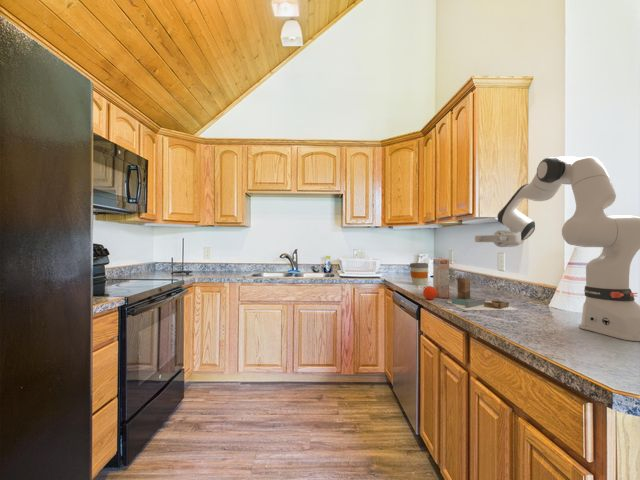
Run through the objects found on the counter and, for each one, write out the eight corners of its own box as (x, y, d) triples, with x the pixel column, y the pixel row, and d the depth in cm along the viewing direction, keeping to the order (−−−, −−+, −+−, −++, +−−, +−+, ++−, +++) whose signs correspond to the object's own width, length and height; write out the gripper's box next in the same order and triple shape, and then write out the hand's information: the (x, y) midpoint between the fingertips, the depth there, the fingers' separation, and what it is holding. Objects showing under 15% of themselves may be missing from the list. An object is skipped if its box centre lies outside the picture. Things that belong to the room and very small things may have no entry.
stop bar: (470, 303, 150) (470, 278, 150) (465, 304, 148) (465, 278, 148) (462, 302, 153) (462, 277, 153) (457, 303, 151) (457, 278, 151)
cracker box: (449, 298, 171) (449, 259, 171) (438, 298, 172) (437, 259, 172) (443, 294, 184) (443, 258, 185) (433, 293, 185) (432, 258, 186)
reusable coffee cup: (407, 284, 227) (407, 263, 227) (414, 282, 237) (414, 262, 237) (424, 286, 219) (424, 264, 219) (431, 284, 229) (430, 263, 229)
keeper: (508, 306, 142) (508, 302, 142) (500, 308, 138) (500, 304, 138) (492, 304, 148) (492, 300, 148) (484, 306, 144) (484, 301, 144)
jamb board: (518, 311, 136) (518, 303, 136) (464, 312, 137) (464, 304, 137) (493, 303, 156) (492, 296, 156) (446, 303, 157) (446, 296, 157)
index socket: (476, 303, 150) (475, 298, 150) (466, 305, 145) (466, 300, 145) (460, 301, 156) (460, 296, 156) (451, 303, 151) (451, 298, 152)
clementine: (418, 298, 170) (418, 285, 170) (427, 297, 173) (427, 284, 173) (431, 301, 163) (431, 287, 163) (439, 299, 167) (439, 286, 167)
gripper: (482, 233, 172) (468, 232, 164) (524, 231, 155) (510, 231, 147) (482, 244, 172) (468, 244, 164) (524, 244, 155) (510, 244, 147)
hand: (488, 238), depth 156 cm, fingers open, 8 cm apart
